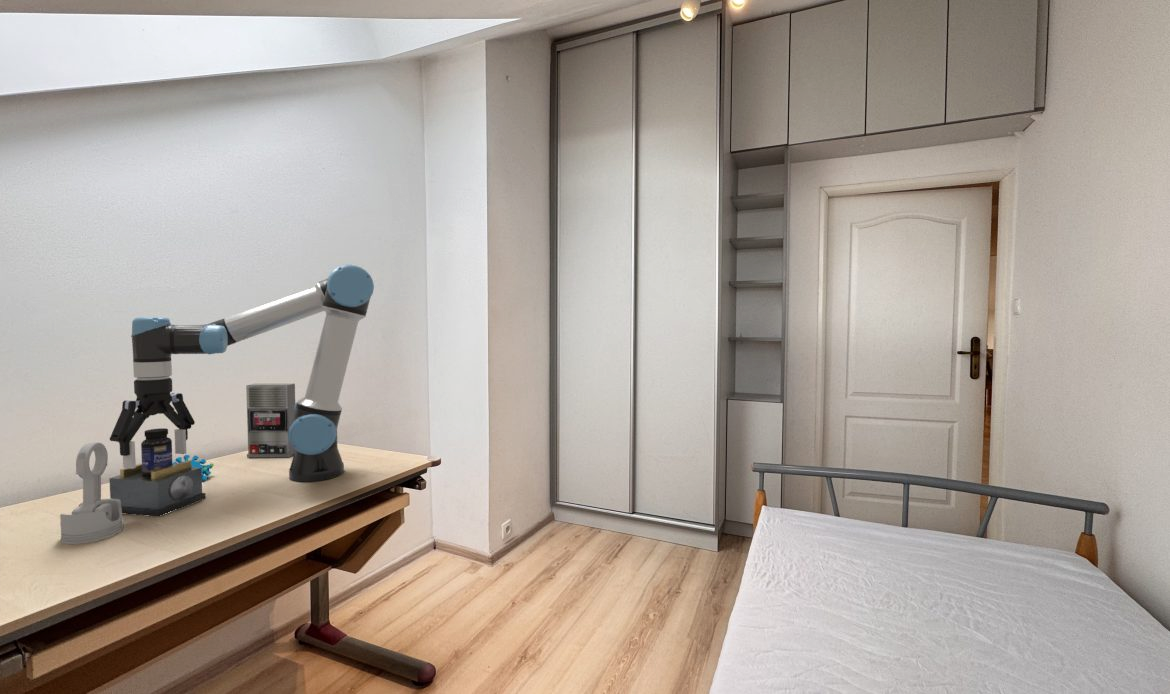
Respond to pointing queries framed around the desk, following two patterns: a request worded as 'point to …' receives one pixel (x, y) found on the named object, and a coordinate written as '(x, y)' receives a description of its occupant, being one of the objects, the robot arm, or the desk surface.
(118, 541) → the desk surface
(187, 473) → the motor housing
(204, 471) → the blue spiky rounded piece
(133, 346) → the robot arm
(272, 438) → the grey cassette player
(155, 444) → the pill bottle
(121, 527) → the engine component
